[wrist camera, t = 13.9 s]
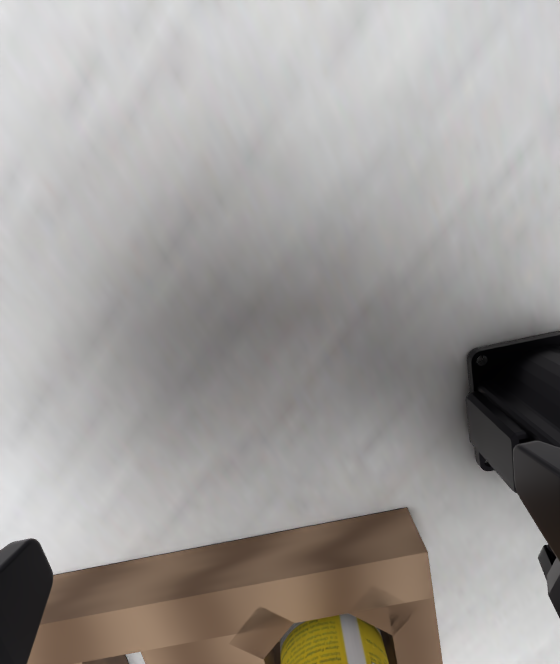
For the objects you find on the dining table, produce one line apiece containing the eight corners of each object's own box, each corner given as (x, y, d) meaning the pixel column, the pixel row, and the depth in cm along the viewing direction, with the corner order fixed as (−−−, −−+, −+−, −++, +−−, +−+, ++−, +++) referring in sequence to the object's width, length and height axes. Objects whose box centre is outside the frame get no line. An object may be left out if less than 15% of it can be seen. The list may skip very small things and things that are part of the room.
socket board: (406, 507, 22) (427, 551, 19) (430, 670, 25) (451, 728, 23) (26, 580, 23) (-9, 633, 20) (98, 729, 26) (76, 793, 23)
